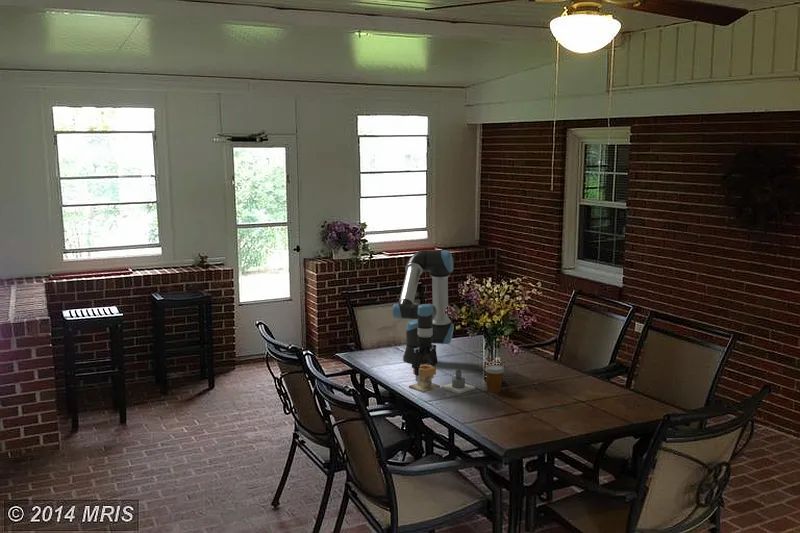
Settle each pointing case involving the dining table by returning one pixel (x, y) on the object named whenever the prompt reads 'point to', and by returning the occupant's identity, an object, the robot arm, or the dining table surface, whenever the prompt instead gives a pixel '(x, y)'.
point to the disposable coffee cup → (494, 377)
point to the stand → (424, 384)
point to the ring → (426, 370)
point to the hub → (458, 384)
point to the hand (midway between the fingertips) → (424, 379)
